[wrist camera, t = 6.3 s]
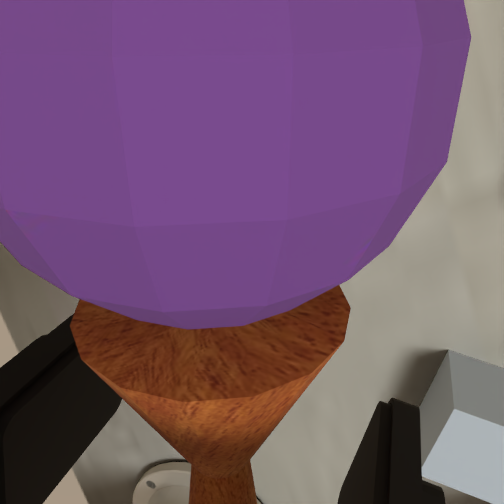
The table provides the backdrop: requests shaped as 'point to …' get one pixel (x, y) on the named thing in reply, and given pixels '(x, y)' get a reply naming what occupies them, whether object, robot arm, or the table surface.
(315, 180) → the kendama
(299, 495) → the table surface
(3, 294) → the table surface
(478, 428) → the dusty blue block
